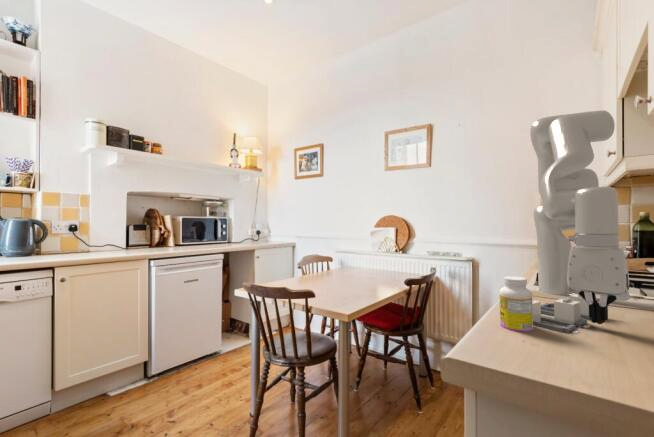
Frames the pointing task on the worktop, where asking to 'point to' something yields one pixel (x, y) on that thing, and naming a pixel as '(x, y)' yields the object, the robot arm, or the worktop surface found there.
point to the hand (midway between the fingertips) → (598, 322)
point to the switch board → (548, 311)
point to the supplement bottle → (516, 305)
